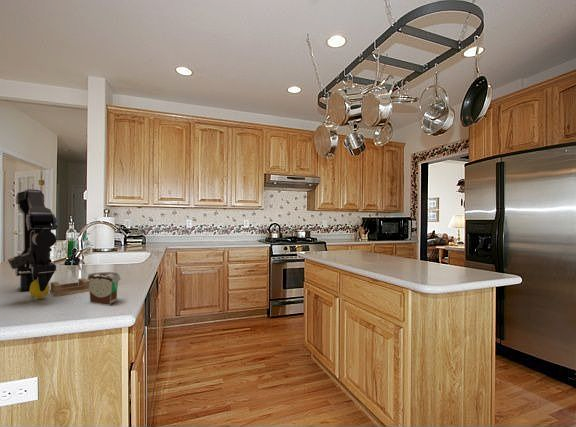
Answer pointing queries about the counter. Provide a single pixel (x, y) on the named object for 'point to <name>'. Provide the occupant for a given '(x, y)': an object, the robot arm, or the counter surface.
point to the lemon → (38, 290)
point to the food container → (103, 287)
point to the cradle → (69, 287)
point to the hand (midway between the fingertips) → (39, 288)
